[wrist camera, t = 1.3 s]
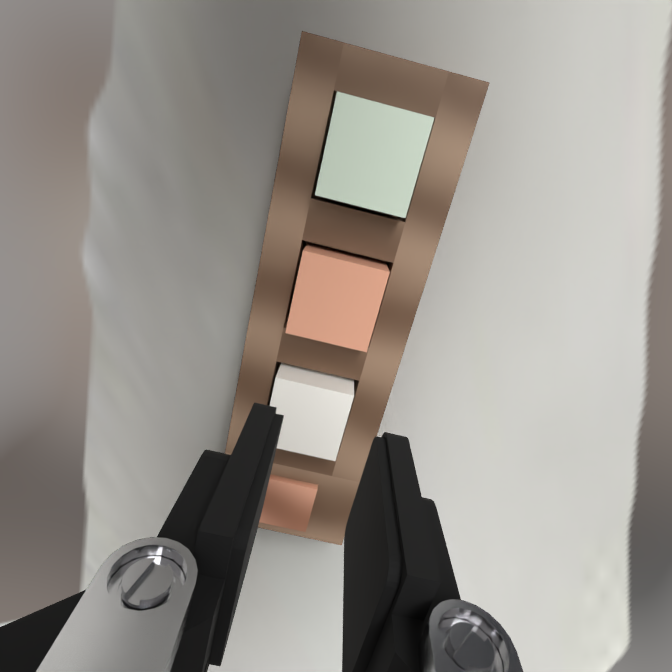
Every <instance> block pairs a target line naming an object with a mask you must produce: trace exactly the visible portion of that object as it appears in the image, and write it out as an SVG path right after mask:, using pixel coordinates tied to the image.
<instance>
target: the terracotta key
mask: <svg viewBox="0 0 672 672" xmlns="http://www.w3.org/2000/svg"><path fill="white" fill-rule="evenodd" d="M389 273H390V271H389V269H388V267H387V265H386V262H383V261H379V260H375V259H371V258H367V257H363V256H359V255H355V254H351V253H347V252H343V251H339V250H335V249H331V248H327V247H323V246H319V245H315V244H311V243H308V244H307V245H306V247H305V248H304V250H303V252H302V257H301V262H300V266H299V271H298V276H297V280H296V285H295V290H294V294H293V299H292V304H291V308H290V313H289V318H288V322H287V327H286V332H285V333H288V334H292V335H296V336H300V337H304V338H309V339H313V340H317V341H321V342H325V343H330V344H334V345H338V346H342V347H346V348H351V349H355V350H359V351H363V352H367V350H368V346H369V343H370V339H371V336H372V332H373V329H374V325H375V322H376V318H377V315H378V312H379V308H380V305H381V301H382V298H383V294H384V291H385V287H386V284H387V280H388V277H389Z"/></svg>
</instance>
